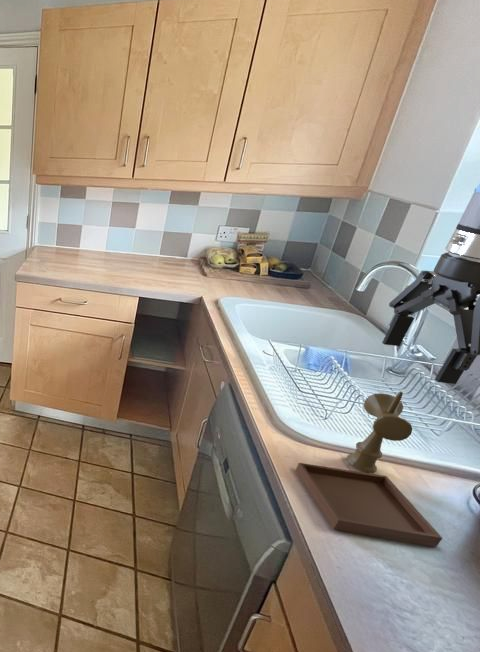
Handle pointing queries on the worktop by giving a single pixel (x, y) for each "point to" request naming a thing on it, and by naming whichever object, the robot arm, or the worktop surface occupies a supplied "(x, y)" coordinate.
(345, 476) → the tray
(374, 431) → the kendama
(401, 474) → the worktop surface
